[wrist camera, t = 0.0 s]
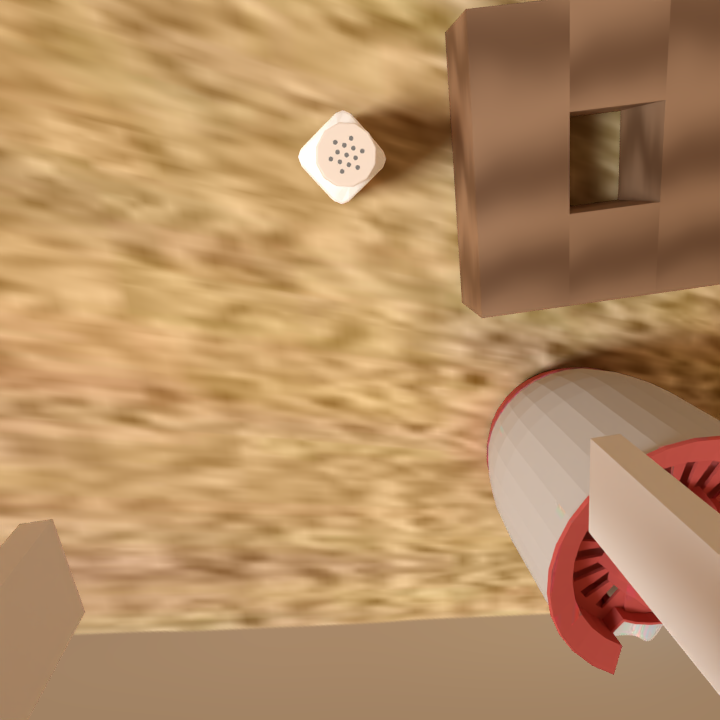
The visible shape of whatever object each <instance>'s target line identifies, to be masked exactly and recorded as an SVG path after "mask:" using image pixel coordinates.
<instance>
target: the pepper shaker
mask: <svg viewBox="0 0 720 720" xmlns="http://www.w3.org/2000/svg"><path fill="white" fill-rule="evenodd" d="M298 158H299V160H300V163H301V165H302V167H303V169H304V170H305V171H306V172H307V173H308V174H309V175H310V176H311V177H312V178H313V179H314V180H315V181H316V183H317V184H318V185H319V186H320V187H321V188H322V189H323V190H324V191H325V192H326V193H327V194H328V195H329V197H330V198H331V199H333V200H334V201H336V202H338V203H340V204H343V203H346V202H349V201H350V200H351V199H352V198H353V197H354V196H355V195H356V194H357V193H358V192H359V191H360V190H361V189H362V188H363V187H364V186H365V185H366V184H367V183H368V182H369V181H370V180H371V179H372V178H373V177H374V176H375V175H376V174H377V173H378V172H379V171H380V170H381V169H382V168H383V167H384V164H385V161H386V157H385V154H384V151H383V150H382V149H381V148H380V146H379V145H378V144H377V143H376V141H375V140H374V139H373V138H372V137H371V135H370V133H369V132H368V131H366V130H365V129H364V127H363V126H362V125H361V124H360V123H359V122H358V121H357V120H356V119H355V118H354V116H353V115H352V114H351V113H349V112H346V111H344V110H342V111H339V112H337V113H335V114H334V115H333V116H332V117H331V118H330V119H329V120H328V121H327V122H326V123H325V124H324V125H323V126H322V127H321V128H320V129H319V130H318V132H317V133H316V134H315V135H314V136H313V137H312V138H311V139H310V140H309V141H308V142H307V143H306V144H305V145H304V146H303V147H302V148H301V150H300V153H299V156H298Z"/></svg>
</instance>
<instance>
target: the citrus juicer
mask: <svg viewBox="0 0 720 720" xmlns="http://www.w3.org/2000/svg"><path fill="white" fill-rule="evenodd" d="M616 434H621V435H622V436H624V437H625V438H626V439H627V440H629V441H630V442H631V443H632V444H634V445H635V446H636V447H637V448H639V449H640V450H641V451H642V452H644V453H645V454H646V455H647V456H648V457H650V458H651V459H652V460H653V461H655V462H656V463H657V464H658V465H660V466H661V467H662V468H663V469H665V470H666V471H667V472H668V473H670V474H671V475H672V476H673V477H675V478H676V479H677V480H678V481H680V482H681V483H682V484H683V485H685V486H686V487H687V488H688V489H690V490H691V491H692V492H693V493H694V494H696V495H697V496H698V497H699V498H701V499H702V500H703V501H704V502H706V503H707V504H708V505H709V506H711V507H712V508H713V509H714V510H716V511H717V512H718V513H719V514H720V421H719V420H718V419H716V418H714V417H712V416H711V415H709V414H707V413H705V412H704V411H702V410H700V409H698V408H697V407H695V406H693V405H692V404H690V403H688V402H686V401H685V400H683V399H681V398H679V397H678V396H676V395H674V394H672V393H671V392H669V391H667V390H664V389H662V388H660V387H658V386H656V385H654V384H652V383H649V382H646V381H643V380H640V379H637V378H635V377H631V376H628V375H624V374H621V373H617V372H611V371H604V370H601V369H596V368H588V367H575V368H562V369H555V370H551V371H548V372H544V373H541V374H538V375H536V376H534V377H532V378H530V379H528V380H526V381H525V382H524V383H522V384H521V385H519V386H518V387H516V388H515V389H514V390H513V391H512V392H511V393H510V394H509V395H508V396H507V397H506V398H505V400H504V401H503V403H502V404H501V406H500V407H499V408H498V410H497V412H496V414H495V417H494V419H493V421H492V424H491V428H490V433H489V437H488V443H487V465H488V470H489V477H490V482H491V487H492V492H493V496H494V499H495V503H496V507H497V509H498V511H499V514H500V516H501V518H502V520H503V522H504V524H505V527H506V529H507V531H508V533H509V535H510V537H511V540H512V541H513V543H514V545H515V547H516V548H517V550H518V552H519V554H520V555H521V557H522V559H523V561H524V562H525V564H526V566H527V568H528V570H529V571H530V573H531V575H532V577H533V578H534V580H535V582H536V584H537V585H538V587H539V589H540V591H541V592H542V594H543V596H544V598H545V599H546V601H547V603H548V605H549V609H550V615H551V617H552V619H553V622H554V624H555V626H556V628H557V631H558V633H559V635H560V636H561V637H562V638H563V640H564V641H565V642H566V643H567V645H568V646H569V647H570V648H571V649H572V651H574V652H575V653H577V654H578V655H579V656H580V657H582V658H583V659H584V660H586V661H587V662H588V663H590V664H591V665H592V666H595V667H597V668H599V669H602V670H604V671H606V672H609V673H611V674H614V672H615V668H616V665H617V662H618V658H619V655H620V652H621V648H622V645H621V644H620V642H619V641H618V640H617V638H616V637H615V636H617V635H634V636H637V637H639V638H641V639H643V640H644V641H650V640H652V639H653V638H654V637H655V636H656V634H657V633H658V632H659V630H660V629H661V627H662V625H663V624H662V623H661V622H660V620H659V619H658V618H657V617H656V615H655V614H654V613H653V612H652V610H651V609H650V608H649V607H648V605H647V604H646V603H645V602H644V600H643V599H642V598H641V597H640V595H639V594H638V593H637V592H636V590H635V589H634V588H633V587H632V585H631V584H630V583H629V582H628V580H627V579H626V578H625V577H624V575H623V574H622V573H621V572H620V570H619V569H618V568H617V567H616V565H615V564H614V563H613V562H612V560H611V559H610V558H609V557H608V555H607V554H606V553H605V552H604V550H603V549H602V548H601V547H600V545H599V544H598V543H597V542H596V540H595V539H594V538H593V537H592V535H591V534H590V533H589V487H590V438H596V437H603V436H609V435H616Z"/></svg>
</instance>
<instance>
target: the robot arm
mask: <svg viewBox="0 0 720 720" xmlns="http://www.w3.org/2000/svg"><path fill="white" fill-rule="evenodd" d="M589 533H590V534H591V535H592V537H593V538H594V539H595V540H596V542H597V543H598V544H599V545H600V547H601V548H602V549H603V550H604V552H605V553H606V554H607V555H608V557H609V558H610V559H611V560H612V562H613V563H614V564H615V565H616V567H617V568H618V569H619V570H620V572H621V573H622V574H623V575H624V577H625V578H626V579H627V580H628V582H629V583H630V584H631V585H632V587H633V588H634V589H635V590H636V592H637V593H638V594H639V595H640V597H641V598H642V599H643V600H644V602H645V603H646V604H647V605H648V607H649V608H650V609H651V610H652V612H653V613H654V614H655V615H656V617H657V618H658V619H659V620H660V622H661V623H662V624H663V625H664V627H665V628H666V629H667V630H668V632H669V633H670V634H671V635H672V637H673V638H674V639H675V640H676V641H677V643H678V644H679V645H680V647H681V648H682V649H683V650H684V652H685V653H686V654H687V655H688V656H689V658H690V659H691V660H692V661H693V662H694V664H695V665H696V666H697V668H698V669H699V670H700V671H701V673H702V674H703V675H704V677H706V679H707V680H708V682H709V683H710V684H711V685H712V687H713V688H714V689H715V690H716V691H717V693H718V694H719V695H720V514H719V513H718V512H717V511H716V510H714V509H713V508H712V507H711V506H709V505H708V504H707V503H706V502H704V501H703V500H702V499H701V498H699V497H698V496H697V495H696V494H694V493H693V492H692V491H691V490H690V489H688V488H687V487H686V486H685V485H683V484H682V483H681V482H680V481H678V480H677V479H676V478H675V477H673V476H672V475H671V474H670V473H668V472H667V471H666V470H665V469H663V468H662V467H661V466H660V465H658V464H657V463H656V462H655V461H653V460H652V459H651V458H650V457H648V456H647V455H646V454H645V453H644V452H642V451H641V450H640V449H639V448H637V447H636V446H635V445H634V444H632V443H631V442H630V441H629V440H627V439H626V438H625V437H624V436H622V435H621V434H616V435H609V436H603V437H596V438H590V487H589ZM84 613H85V610H84V607H83V604H82V602H81V599H80V596H79V593H78V590H77V587H76V584H75V582H74V579H73V576H72V573H71V570H70V567H69V565H68V562H67V559H66V556H65V553H64V550H63V547H62V545H61V542H60V539H59V536H58V533H57V530H56V527H55V525H54V522H53V519H50V520H44V521H37V522H30V523H24V524H19V525H18V527H17V528H16V529H15V530H14V531H13V532H12V534H11V535H10V536H9V537H8V538H7V539H6V541H5V542H4V543H3V544H2V545H1V546H0V720H28V719H29V717H30V715H31V713H32V711H33V709H34V708H35V705H36V704H37V702H38V700H39V698H40V696H41V694H42V692H43V690H44V689H45V687H46V685H47V683H48V681H49V679H50V677H51V675H52V673H53V672H54V670H55V668H56V666H57V664H58V662H59V660H60V658H61V656H62V654H63V653H64V651H65V649H66V647H67V645H68V643H69V641H70V639H71V637H72V635H73V634H74V632H75V630H76V628H77V626H78V624H79V622H80V620H81V618H82V617H83V615H84Z"/></svg>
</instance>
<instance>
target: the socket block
mask: <svg viewBox="0 0 720 720" xmlns="http://www.w3.org/2000/svg"><path fill="white" fill-rule="evenodd" d="M445 37H446V53H447V69H448V85H449V101H450V117H451V133H452V149H453V165H454V181H455V196H456V212H457V228H458V244H459V260H460V276H461V292H462V303H463V304H465V305H466V306H467V307H469V308H470V309H471V310H472V311H474V312H475V313H476V314H478V315H479V316H480V317H481V318H486V317H493V316H500V315H507V314H514V313H521V312H528V311H535V310H542V309H550V308H557V307H564V306H571V305H578V304H585V303H592V302H599V301H606V300H613V299H620V298H627V297H634V296H641V295H648V294H655V293H662V292H669V291H677V290H684V289H691V288H698V287H705V286H712V285H719V284H720V0H541V1H533V2H524V3H515V4H507V5H498V6H489V7H481V8H472V9H466V10H465V11H464V12H463V13H462V14H461V16H460V17H459V18H458V19H457V20H456V21H455V22H454V23H453V25H452V26H451V27H450V28H449V29H448V30H447V31H446V32H445ZM614 111H621V122H620V157H619V191H618V200H614V201H606V202H599V203H591V204H584V205H576V206H570V117H574V116H582V115H590V114H598V113H606V112H614Z"/></svg>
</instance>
